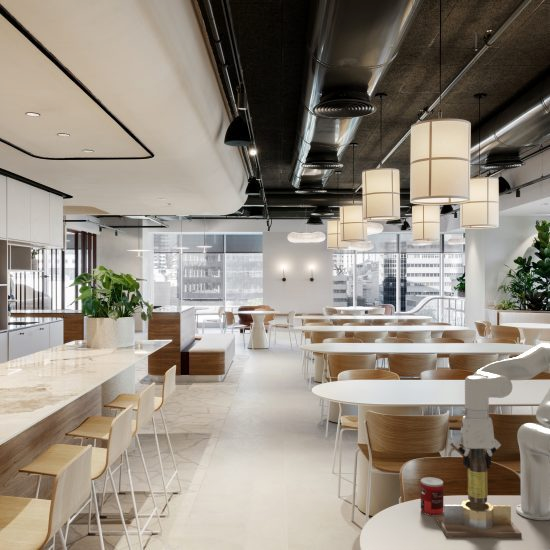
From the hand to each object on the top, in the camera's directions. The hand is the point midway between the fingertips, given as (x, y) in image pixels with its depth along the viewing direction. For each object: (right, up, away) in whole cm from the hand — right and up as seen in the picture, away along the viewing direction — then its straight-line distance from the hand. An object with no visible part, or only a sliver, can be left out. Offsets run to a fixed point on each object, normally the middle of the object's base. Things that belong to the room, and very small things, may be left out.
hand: (477, 466), depth 194 cm
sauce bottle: (0, -12, 0) cm, 12 cm away
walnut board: (0, -21, 0) cm, 21 cm away
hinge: (0, -19, 0) cm, 19 cm away
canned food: (-11, -21, +14) cm, 27 cm away
